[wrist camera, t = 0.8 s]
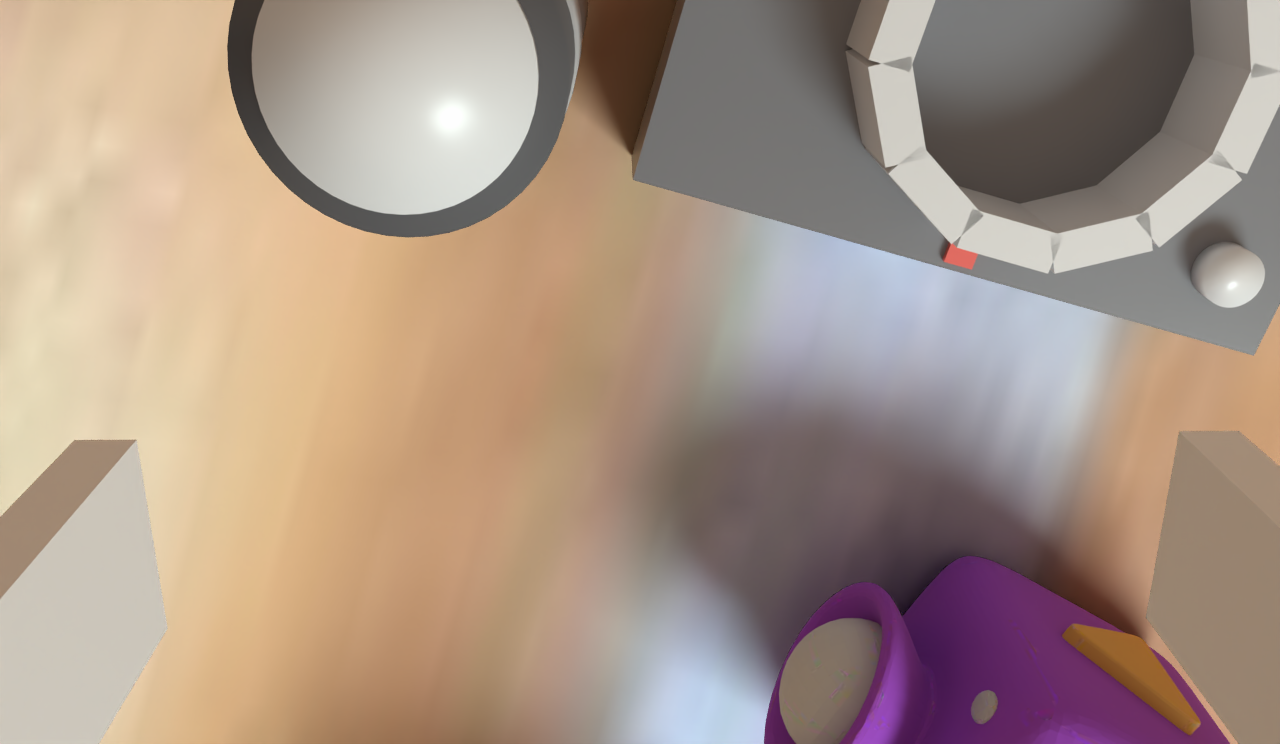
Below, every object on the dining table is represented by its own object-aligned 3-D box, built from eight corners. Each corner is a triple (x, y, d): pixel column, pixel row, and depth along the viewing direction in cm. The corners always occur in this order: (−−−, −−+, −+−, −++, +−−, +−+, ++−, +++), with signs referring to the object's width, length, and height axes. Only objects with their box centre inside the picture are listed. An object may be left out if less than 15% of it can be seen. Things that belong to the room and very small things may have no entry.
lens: (360, 73, 34) (192, 194, 21) (403, -142, 32) (248, -163, 19) (559, 129, 35) (522, 283, 21) (614, -77, 33) (612, -52, 19)
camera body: (631, 156, 35) (634, 207, 29) (764, -303, 31) (796, -345, 25) (1205, 320, 37) (1310, 397, 31) (1403, -88, 33) (1564, -84, 27)
